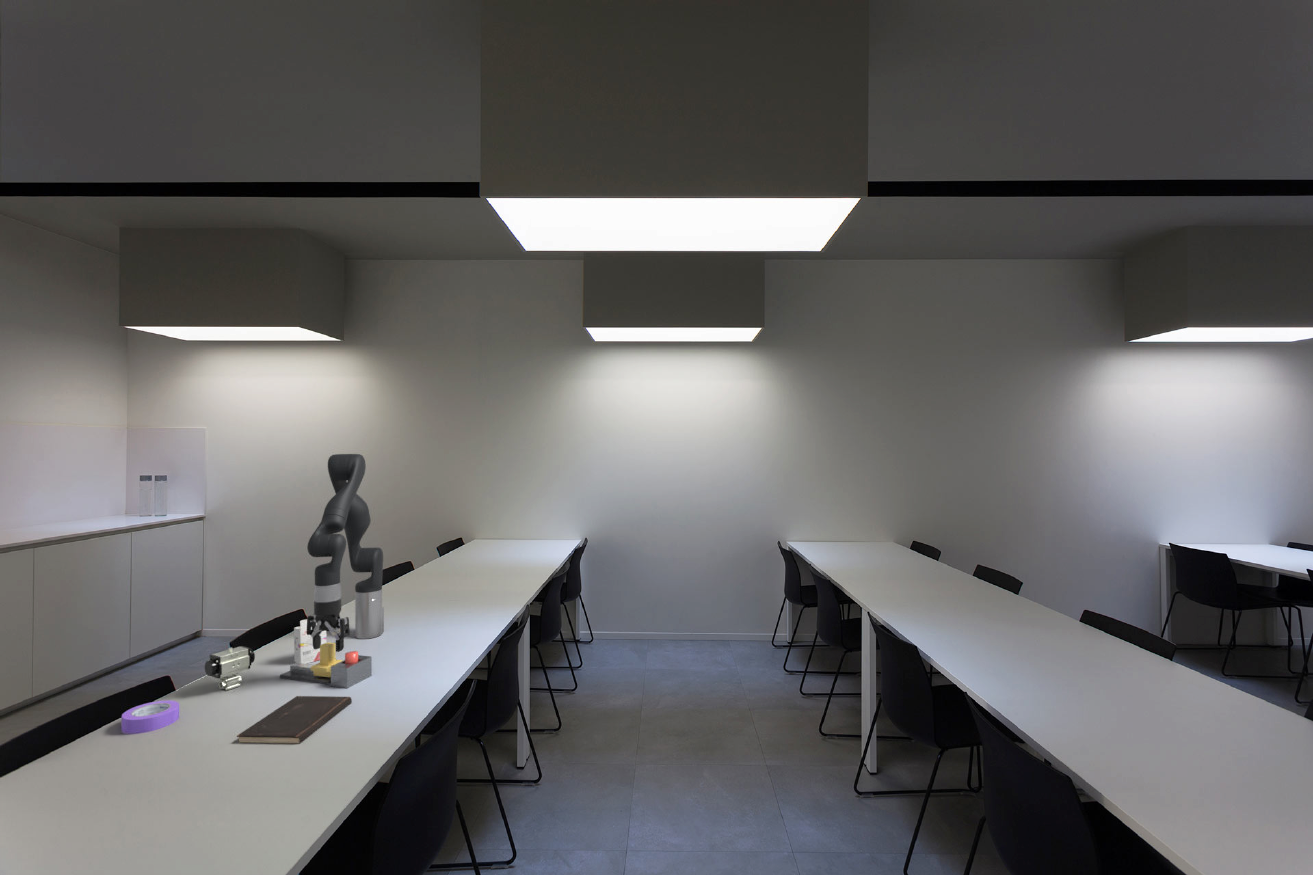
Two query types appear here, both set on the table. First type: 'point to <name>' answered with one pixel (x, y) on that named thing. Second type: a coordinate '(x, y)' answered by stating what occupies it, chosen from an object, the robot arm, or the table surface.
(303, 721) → the hardcover book
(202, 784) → the table surface
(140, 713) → the masking tape
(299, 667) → the rail
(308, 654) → the ink cartridge box
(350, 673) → the grey button housing
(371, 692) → the table surface
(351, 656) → the button
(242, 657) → the pneumatic valve
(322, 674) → the yellow flanged block
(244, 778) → the table surface
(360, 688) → the table surface
